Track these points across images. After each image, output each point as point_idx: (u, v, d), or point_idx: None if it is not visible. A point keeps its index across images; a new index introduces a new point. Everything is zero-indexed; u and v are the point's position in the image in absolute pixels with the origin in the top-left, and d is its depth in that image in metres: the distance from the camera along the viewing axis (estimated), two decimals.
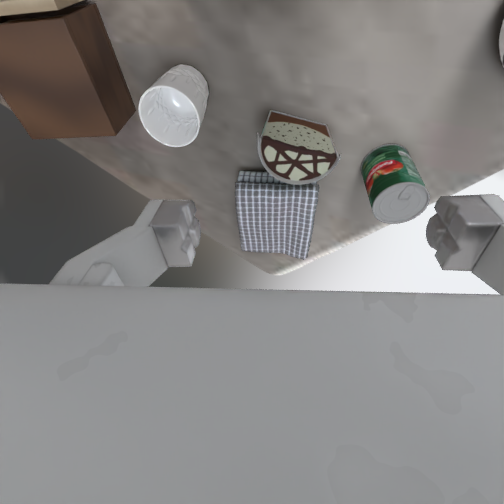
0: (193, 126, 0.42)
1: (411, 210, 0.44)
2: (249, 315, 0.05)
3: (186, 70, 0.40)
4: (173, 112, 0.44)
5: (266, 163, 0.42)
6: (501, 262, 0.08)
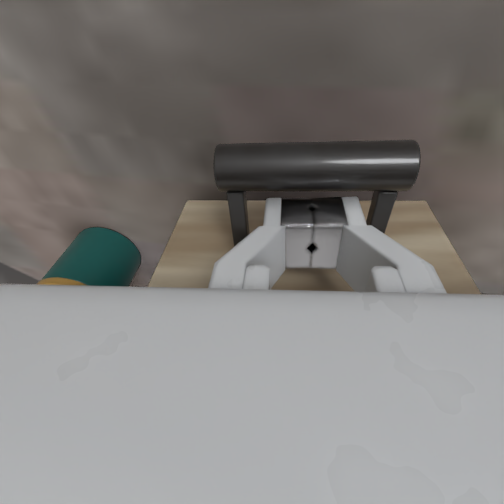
0: None
1: None
2: (249, 315, 0.05)
3: None
4: None
5: None
6: (349, 261, 0.08)
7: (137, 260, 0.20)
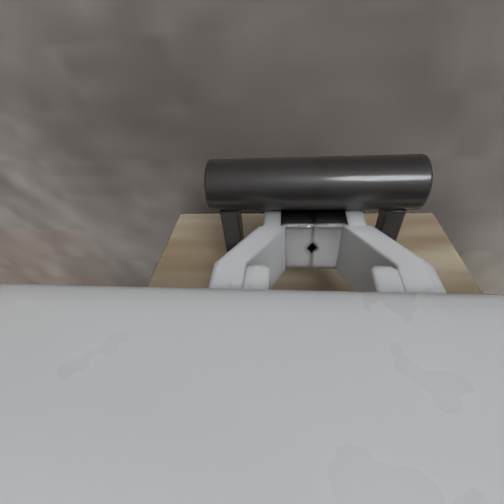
0: None
1: None
2: (249, 315, 0.05)
3: None
4: None
5: None
6: (349, 261, 0.08)
7: None
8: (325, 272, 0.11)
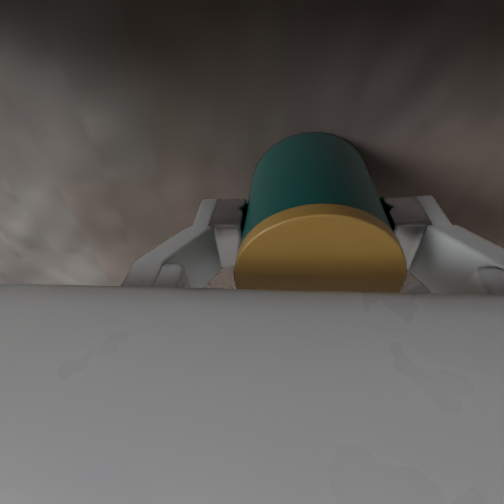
0: None
1: None
2: (249, 315, 0.05)
3: None
4: None
5: None
6: (430, 261, 0.08)
7: (320, 138, 0.09)
8: None
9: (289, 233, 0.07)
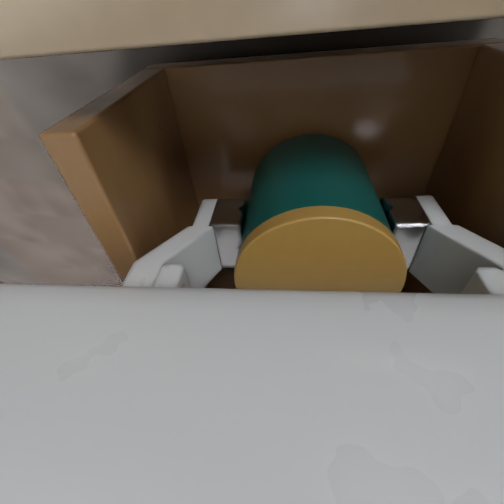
0: None
1: None
2: (249, 315, 0.05)
3: None
4: None
5: None
6: (430, 261, 0.08)
7: (320, 140, 0.09)
8: None
9: (289, 235, 0.07)
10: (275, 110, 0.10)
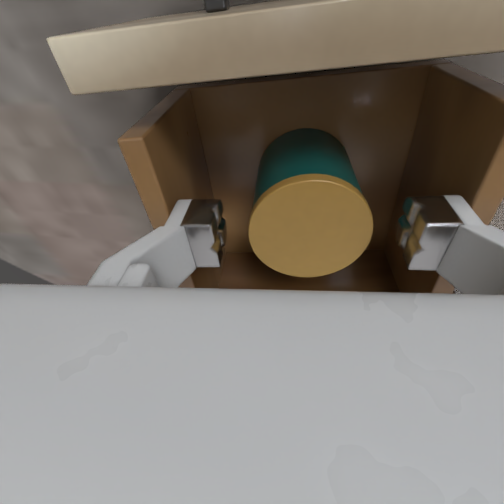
0: None
1: None
2: (249, 315, 0.05)
3: None
4: None
5: None
6: (461, 262, 0.08)
7: (310, 132, 0.12)
8: None
9: (287, 195, 0.10)
10: (276, 118, 0.13)
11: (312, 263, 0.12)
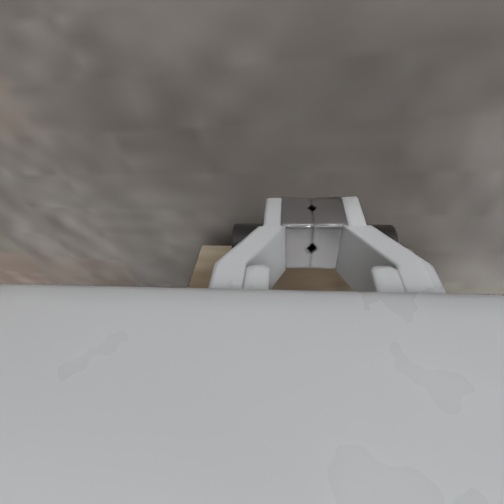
0: None
1: None
2: (249, 315, 0.05)
3: None
4: None
5: None
6: (349, 260, 0.08)
7: None
8: None
9: None
10: None
11: None
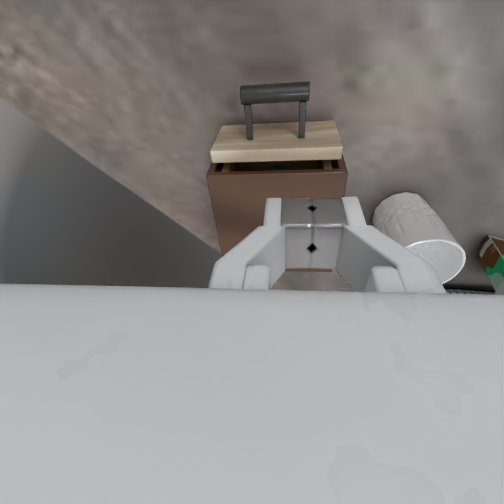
0: None
1: None
2: (249, 315, 0.05)
3: (422, 203, 0.35)
4: None
5: None
6: (349, 261, 0.08)
7: (279, 167, 0.33)
8: (284, 137, 0.29)
9: None
10: (267, 161, 0.34)
11: None
